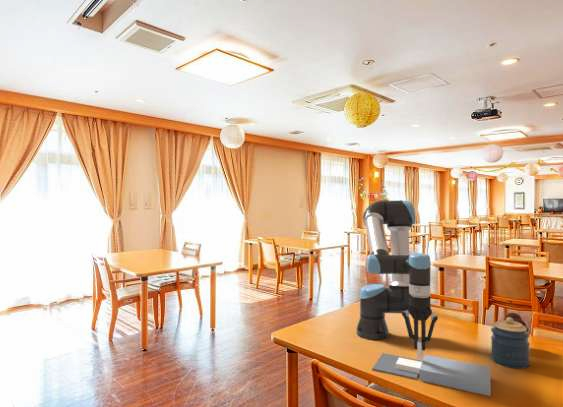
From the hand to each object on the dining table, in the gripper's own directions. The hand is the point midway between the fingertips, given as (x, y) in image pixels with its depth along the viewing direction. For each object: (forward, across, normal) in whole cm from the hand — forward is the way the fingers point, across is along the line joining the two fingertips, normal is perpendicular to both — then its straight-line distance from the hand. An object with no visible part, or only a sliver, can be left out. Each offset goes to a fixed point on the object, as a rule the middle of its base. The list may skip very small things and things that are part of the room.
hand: (420, 358), depth 136 cm
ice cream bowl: (+5, +32, +42) cm, 53 cm away
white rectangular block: (+5, -4, 0) cm, 6 cm away
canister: (+5, +30, +26) cm, 40 cm away
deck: (+5, +12, 0) cm, 13 cm away
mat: (+5, -8, +1) cm, 10 cm away
